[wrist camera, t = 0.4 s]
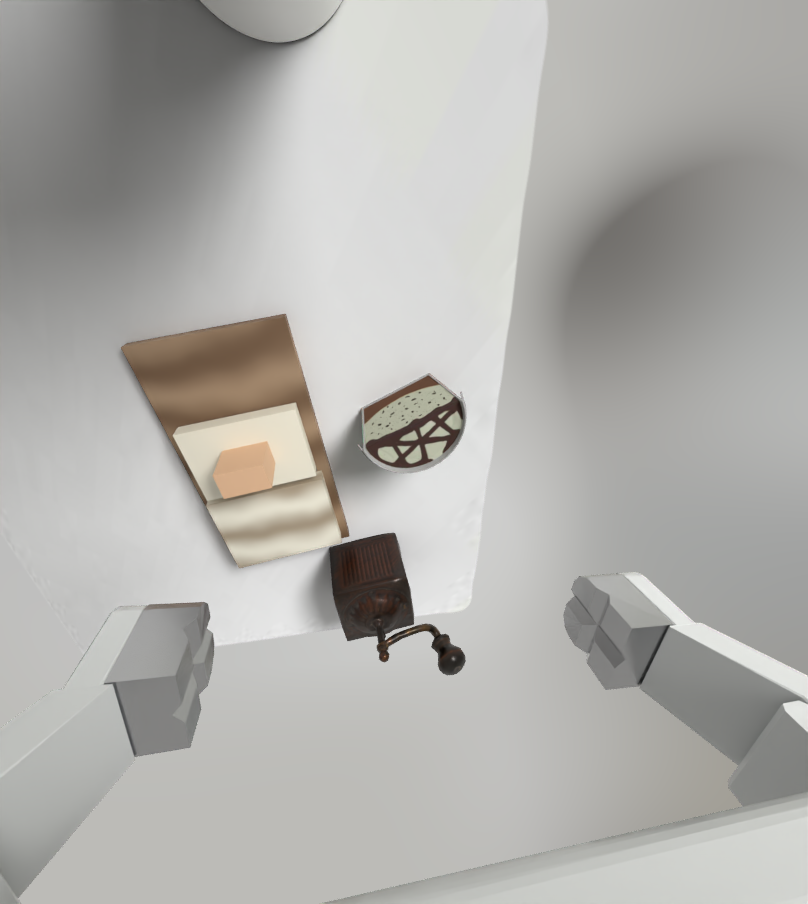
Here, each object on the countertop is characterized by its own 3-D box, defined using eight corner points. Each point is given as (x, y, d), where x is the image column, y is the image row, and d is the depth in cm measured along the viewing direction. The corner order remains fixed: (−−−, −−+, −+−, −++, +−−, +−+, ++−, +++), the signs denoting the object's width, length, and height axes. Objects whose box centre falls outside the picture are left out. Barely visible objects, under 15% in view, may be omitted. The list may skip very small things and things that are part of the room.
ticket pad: (126, 343, 39) (112, 353, 36) (285, 313, 41) (283, 321, 38) (238, 556, 56) (234, 575, 53) (348, 529, 57) (350, 546, 54)
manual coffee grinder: (342, 593, 64) (352, 709, 49) (327, 546, 58) (333, 660, 43) (433, 571, 66) (469, 676, 51) (427, 522, 60) (467, 625, 45)
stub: (177, 427, 43) (156, 460, 37) (295, 402, 44) (293, 430, 38) (210, 491, 48) (196, 529, 42) (316, 467, 49) (316, 500, 43)
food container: (373, 450, 51) (385, 495, 43) (350, 413, 48) (359, 454, 40) (456, 407, 51) (486, 444, 42) (439, 367, 47) (468, 399, 39)
